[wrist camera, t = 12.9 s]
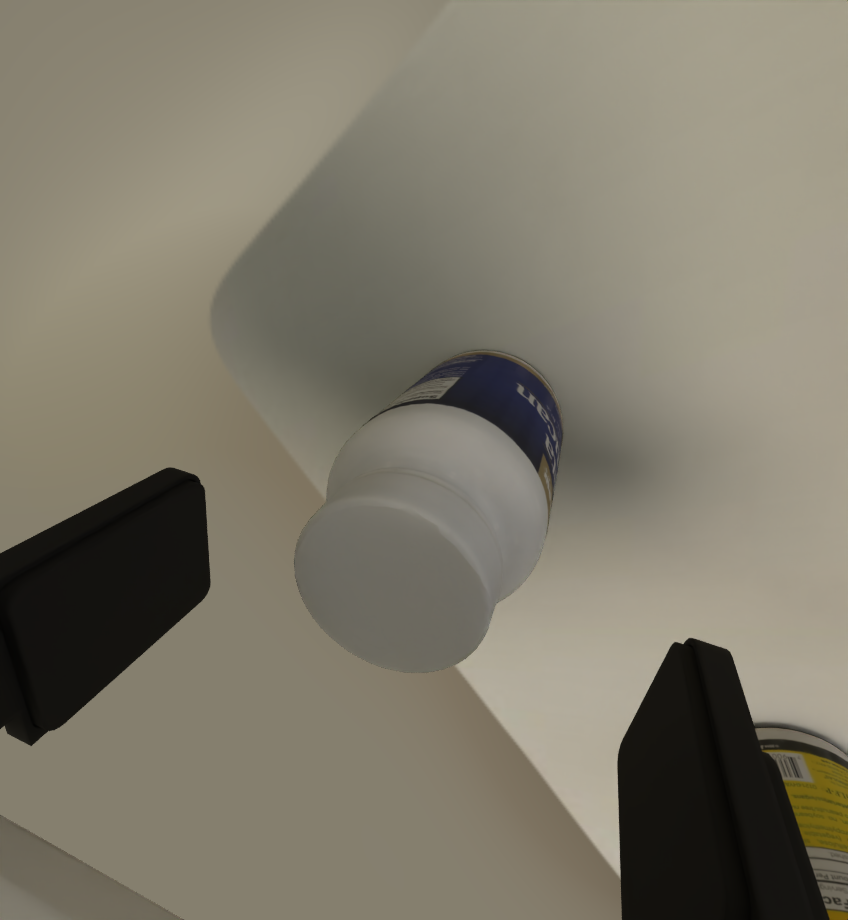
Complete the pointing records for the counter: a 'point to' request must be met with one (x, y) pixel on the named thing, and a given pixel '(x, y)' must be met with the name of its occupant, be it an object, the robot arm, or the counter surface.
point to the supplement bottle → (816, 806)
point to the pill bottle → (434, 514)
